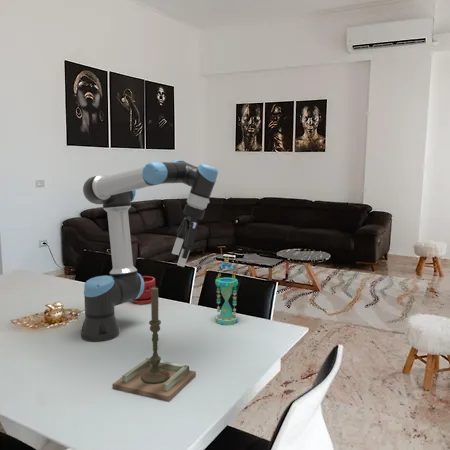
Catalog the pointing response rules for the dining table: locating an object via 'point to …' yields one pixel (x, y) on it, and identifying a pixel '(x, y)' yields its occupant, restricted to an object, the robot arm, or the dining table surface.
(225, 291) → the decorative hourglass
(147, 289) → the plant pot
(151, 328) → the candlestick holder
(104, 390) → the dining table surface
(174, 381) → the railed board
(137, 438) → the dining table surface
